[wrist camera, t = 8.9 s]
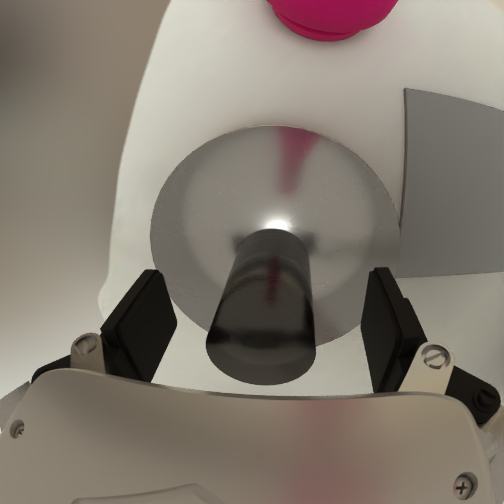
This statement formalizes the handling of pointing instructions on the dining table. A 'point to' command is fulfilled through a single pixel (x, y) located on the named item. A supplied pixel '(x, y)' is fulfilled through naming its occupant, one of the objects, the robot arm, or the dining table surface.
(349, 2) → the pepper mill
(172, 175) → the lid
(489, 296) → the dining table surface
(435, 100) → the mat
